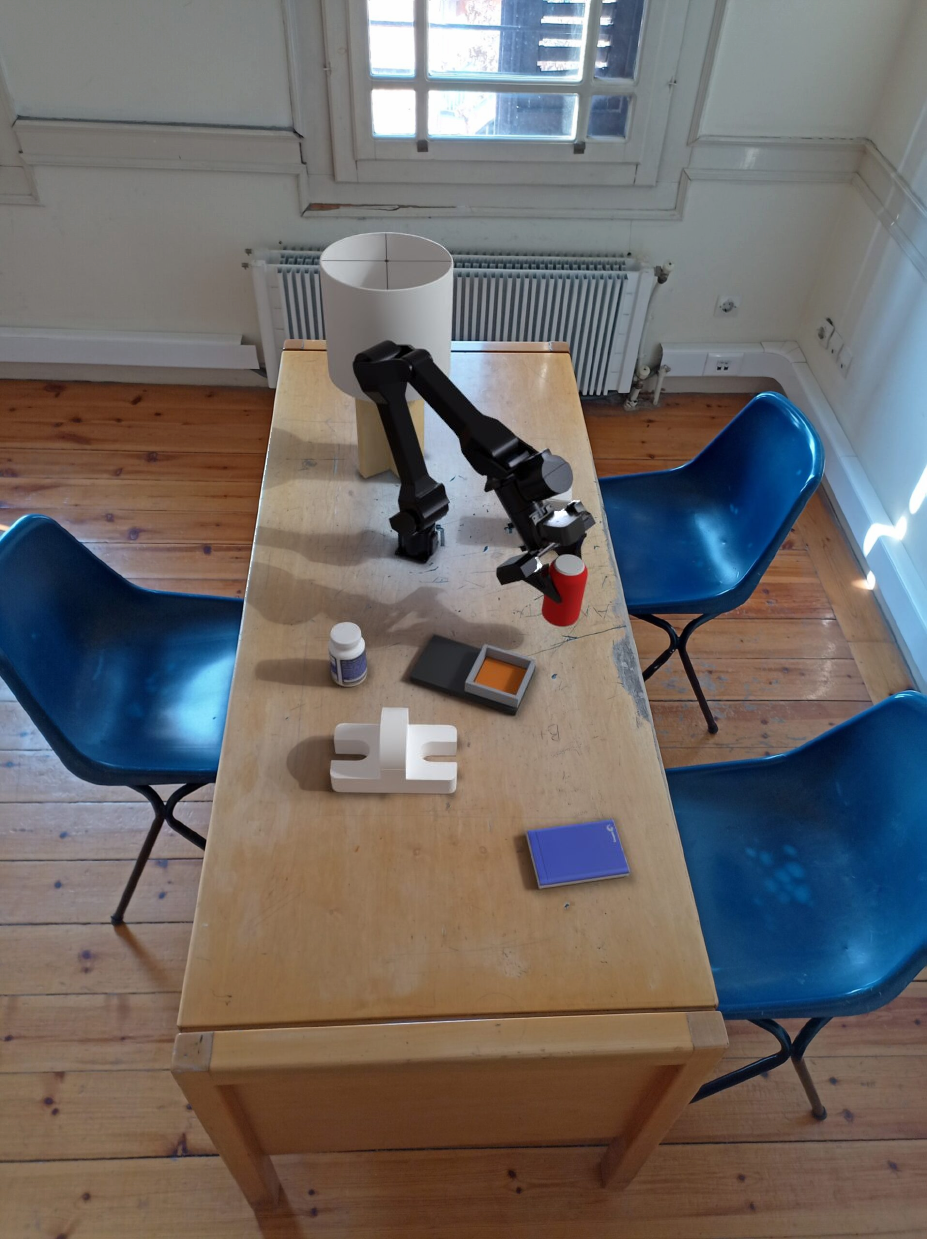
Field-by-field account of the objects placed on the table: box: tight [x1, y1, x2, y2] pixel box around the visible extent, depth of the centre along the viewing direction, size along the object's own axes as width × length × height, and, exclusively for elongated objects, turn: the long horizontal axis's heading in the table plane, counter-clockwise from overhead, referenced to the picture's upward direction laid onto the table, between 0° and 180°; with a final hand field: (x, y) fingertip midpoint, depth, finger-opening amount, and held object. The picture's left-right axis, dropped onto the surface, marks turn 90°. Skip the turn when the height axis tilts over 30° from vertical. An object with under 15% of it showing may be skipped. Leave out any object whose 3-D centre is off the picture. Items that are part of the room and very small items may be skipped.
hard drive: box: [525, 818, 631, 890], centre depth 117 cm, size 2×8×12 cm
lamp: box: [318, 231, 454, 479], centre depth 162 cm, size 23×23×43 cm
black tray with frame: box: [409, 633, 536, 716], centre depth 138 cm, size 18×10×3 cm, turn 69°
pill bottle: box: [328, 621, 368, 688], centre depth 135 cm, size 6×6×10 cm
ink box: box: [541, 485, 573, 550], centre depth 160 cm, size 9×5×12 cm, turn 175°
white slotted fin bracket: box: [329, 706, 458, 795], centre depth 123 cm, size 10×18×11 cm, turn 90°
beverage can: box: [541, 554, 589, 628], centre depth 137 cm, size 6×6×12 cm
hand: (571, 593), depth 136 cm, fingers closed on beverage can, 6 cm apart
